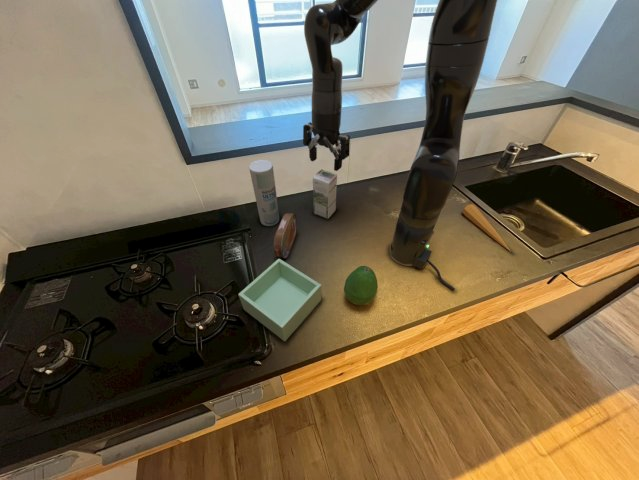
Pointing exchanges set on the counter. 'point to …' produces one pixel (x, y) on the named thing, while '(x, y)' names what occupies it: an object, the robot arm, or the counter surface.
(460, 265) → the counter surface
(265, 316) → the mint storage bin
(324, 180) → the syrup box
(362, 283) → the avocado
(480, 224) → the carrot
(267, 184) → the spray can
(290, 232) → the tin
